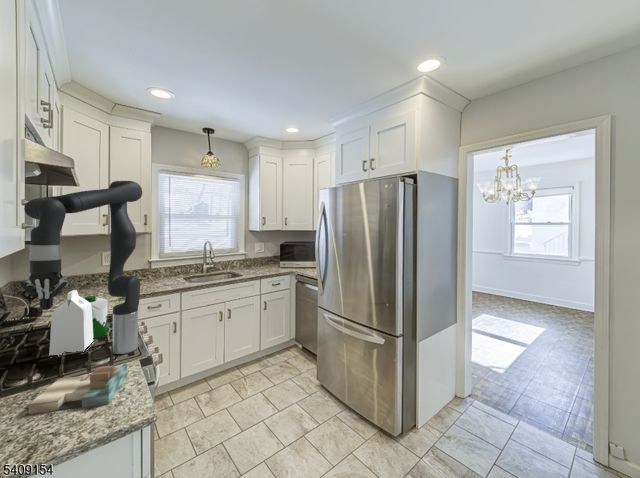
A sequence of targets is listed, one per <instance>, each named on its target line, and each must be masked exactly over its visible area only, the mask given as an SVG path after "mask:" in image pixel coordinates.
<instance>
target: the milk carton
mask: <svg viewBox="0 0 640 478" xmlns="http://www.w3.org/2000/svg"><path fill="white" fill-rule="evenodd" d="M84 299H85V300H87V301H88V302H90V303H91V305H92V321H93V338H94V339H97V338H101V336H102V337H105V336H107V335H108V305H109V304H108V303H109V300H108V299H106V298H104V297H97V298H96V295H92V296H91V295H90V296H85V297H84ZM106 334H107V335H106ZM104 335H105V336H104Z"/></svg>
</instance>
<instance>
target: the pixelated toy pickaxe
mask: <svg viewBox="0 0 640 478" xmlns="http://www.w3.org/2000/svg"><path fill="white" fill-rule="evenodd" d="M127 368H128V364H127V363H123V364H122V365H121V366H120V368H119V369H118V370H117V371H115V375H114V376H113V377H112V378H111V379H110V380H109V382H108V383H107V384H106V385H105V389H96V390H90V379H88V380H85V375H79V376H70V377H60V378H58V379H57V380H56V381H54V382H53V383H52V384H51V385H50V386H48V387H47V388H46V389H45V390H44V391H42V393H40V394H38V396H37V397H35V398H34V399H33V400H32V401H30V402H29V403H28V414H29V415H30V414H39V413H47V412H48V413H49V412H54V411H55V412H56V411H64V410H72V409H78V408H87V407H96V406H103V405H109V404H110V403H111V401H112V400H113V398H114V397H115V396H116V395H117V393H118V392H119V390H121V388H122V387H123V385H125V382H126V381H127V380H128V375H127V374H128V373H127V372H128V369H127Z"/></svg>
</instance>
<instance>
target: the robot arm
mask: <svg viewBox="0 0 640 478" xmlns="http://www.w3.org/2000/svg"><path fill="white" fill-rule="evenodd" d="M142 196H143V189H142V186H141V185H140V184H139V183H138V182H135V181H133V180H114V181H112V182H111V183H110V185H109V187H108V188H102V189H92V190H91V189H90V190H83V191H75V192H71V193H67V194H63V195H54V196H44V197H37V198H33V199H30V200H29V201H28V202H26V203H25V205H24V209H23V210H24V213H25V214H26V215H27V216H29V217H30V218H31V219H34V220H38V221H39V222H38V226H36V227H33V228H32V229H31V231H30V249H29V272H30V275H29V277H28V280H26V281H25V282H21V283H20V287H22V288H23V289H24V291H26V292H27V294H29V295H30V297H32V298H37V299H39V308H40V309H41V310H42V311H44V310H45V311H47V310H50V309H52V308H53V306H54V297H57V296H60V295H61V294H62V292H64V291H65V290H66V288H67V287H68V286H69V285H70V284H71V281H70V280H67V279H64V277H63V274H62V247H61V230H62V229H63V226H64V223H65V218H66V215H67V214H78V213H81V212H85V211H88V210H93V209H96V208H100V207H104V206H108V205H109V208H110V209H109V211H110V238H109V241H110V260H109V261H110V262H109V269H108V270H109V272H108V280H107V292H108V294H109V296H110V297H113V298H115V297H116V298H125V299H124V302H122V303H119V304H116V305H114V306H113V308H112V353H113V354H115V355H123V354H129V353H131V352H134V351H135V350H137V349H138V348H139V304H140V298H141V297H140V294H141V281H140V279H139V277H138V276H137V275H136V276H133V275H124V268H125V264H126V263H127V261H128V260H129V258H130V257H131V255H132V254H133V252H134V251H135V249H136V246H137V232H136V229H135V226H134V224H133V222H132V221H131V219H130V217H129V215H128V203H134V202H137V201H139V200H140V199H141V198H142ZM57 285H58V287H57V288H56V286H57Z"/></svg>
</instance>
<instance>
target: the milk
mask: <svg viewBox="0 0 640 478" xmlns="http://www.w3.org/2000/svg"><path fill="white" fill-rule="evenodd" d="M50 321H51V322H50V337H49V339H50V340H49V351H48V352H49V354H48V357H49V356H50V355H58V357H60V356H59V355H62V353H63V352H64V351H66V352H76V351H83V352H84V350H85V349H86V348H87V347H88V346H89V345H90V344H91V343H92V342H93V341H94V339H93V321H92V305H91V303H90V302H88V301H87V300H85V297H83V296H80V295H79V292H78V289H73V290H71V291H69V292H68V293H67V296H66V300H65V301H64V302H63V303H62V304H60V305H59V306H58V307H57V308H55V309H54V311H52V314H51V320H50ZM93 343H94V342H93ZM93 343H92V344H93Z"/></svg>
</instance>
